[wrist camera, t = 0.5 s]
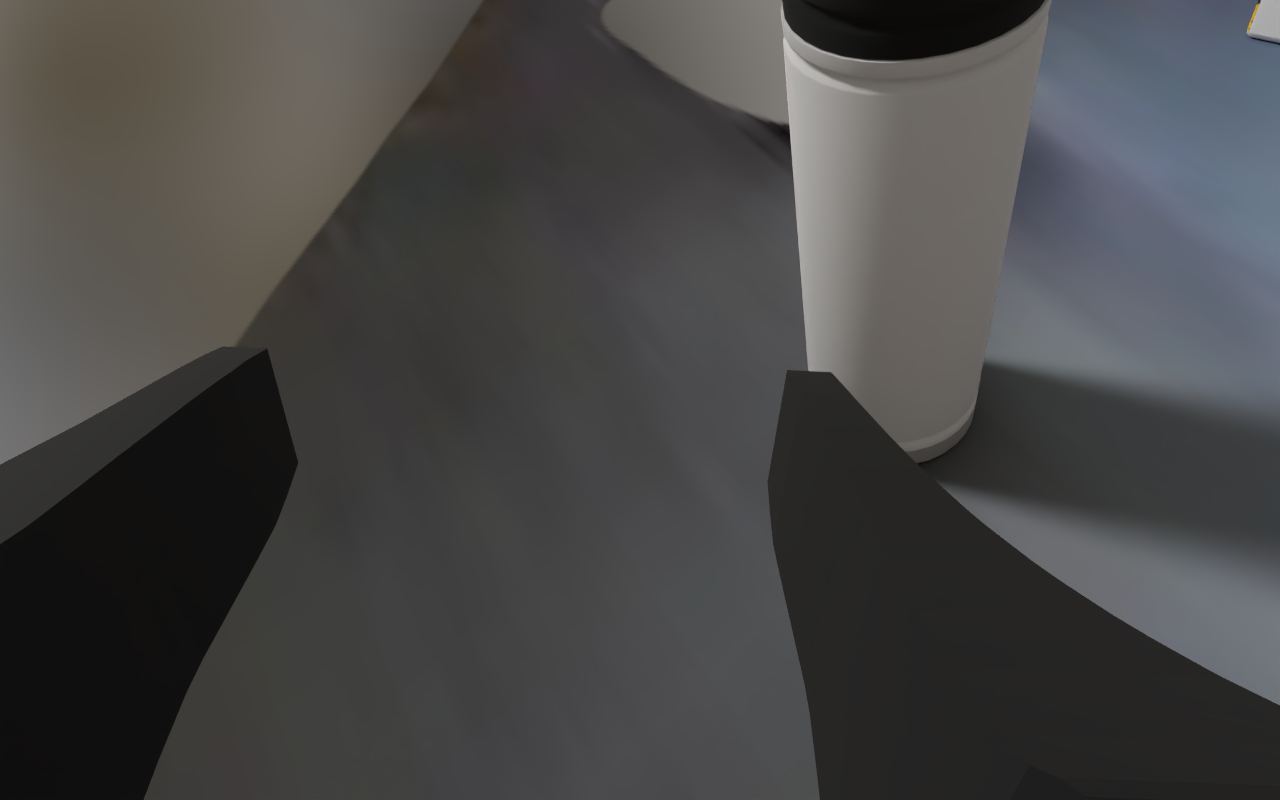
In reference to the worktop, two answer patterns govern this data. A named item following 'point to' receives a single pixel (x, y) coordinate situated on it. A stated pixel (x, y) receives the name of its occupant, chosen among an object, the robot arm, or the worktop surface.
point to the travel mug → (907, 194)
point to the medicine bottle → (1266, 21)
